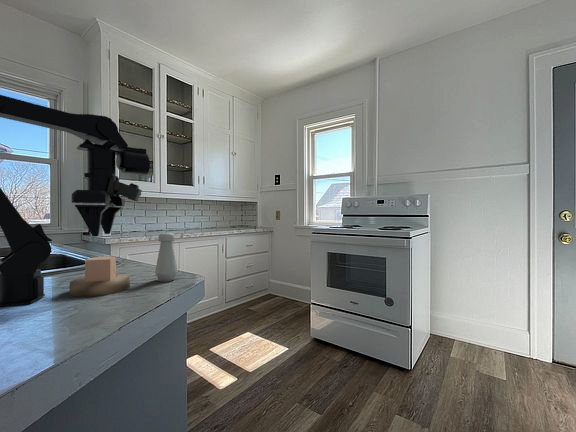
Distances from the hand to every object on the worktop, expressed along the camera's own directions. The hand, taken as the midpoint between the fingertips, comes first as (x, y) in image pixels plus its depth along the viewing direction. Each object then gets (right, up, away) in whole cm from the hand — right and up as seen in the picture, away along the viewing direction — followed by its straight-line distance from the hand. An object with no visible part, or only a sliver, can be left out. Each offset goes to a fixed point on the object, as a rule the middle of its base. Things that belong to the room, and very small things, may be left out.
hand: (101, 235), depth 68 cm
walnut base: (0, -13, -1) cm, 13 cm away
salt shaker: (+12, -13, +10) cm, 20 cm away
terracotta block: (0, -11, -1) cm, 11 cm away
